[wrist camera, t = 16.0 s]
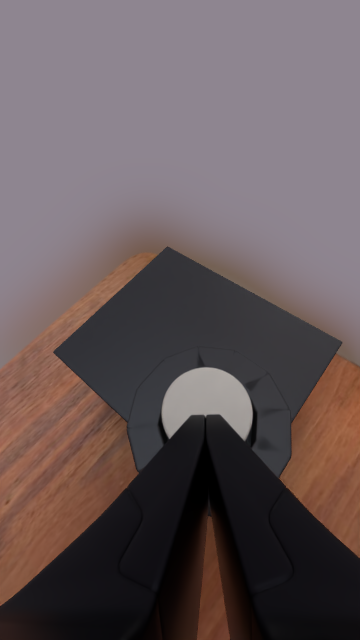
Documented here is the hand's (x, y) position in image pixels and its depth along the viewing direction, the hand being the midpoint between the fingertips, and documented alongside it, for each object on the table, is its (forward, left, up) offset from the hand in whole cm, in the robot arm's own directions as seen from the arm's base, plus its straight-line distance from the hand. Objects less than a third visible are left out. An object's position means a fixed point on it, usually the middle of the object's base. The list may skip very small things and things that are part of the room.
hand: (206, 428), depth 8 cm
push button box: (+4, -2, -12) cm, 13 cm away
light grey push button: (+1, 0, -3) cm, 3 cm away
